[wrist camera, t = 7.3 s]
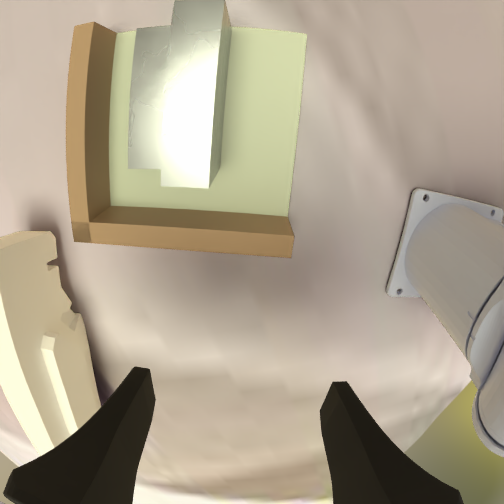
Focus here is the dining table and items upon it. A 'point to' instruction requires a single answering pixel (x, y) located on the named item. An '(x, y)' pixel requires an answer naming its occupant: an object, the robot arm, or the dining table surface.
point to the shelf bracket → (42, 343)
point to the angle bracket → (180, 94)
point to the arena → (149, 180)
